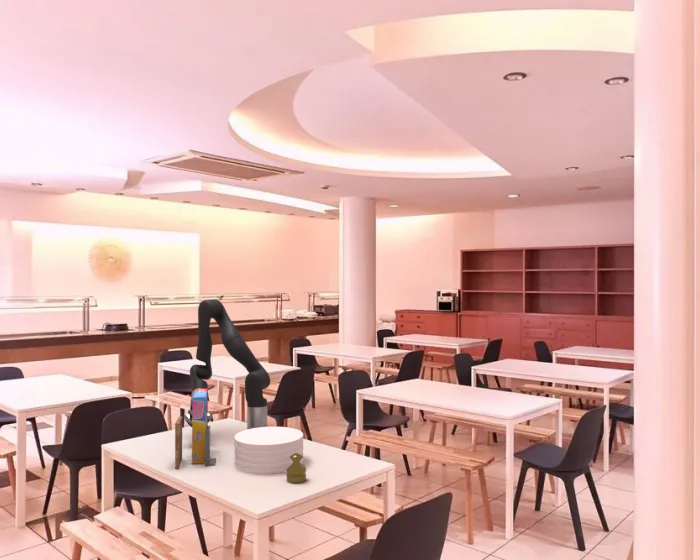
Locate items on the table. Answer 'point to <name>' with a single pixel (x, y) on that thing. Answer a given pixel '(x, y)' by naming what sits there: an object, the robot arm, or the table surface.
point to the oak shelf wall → (178, 442)
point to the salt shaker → (296, 469)
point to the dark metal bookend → (208, 449)
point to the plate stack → (266, 449)
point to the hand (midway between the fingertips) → (196, 434)
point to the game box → (199, 424)
